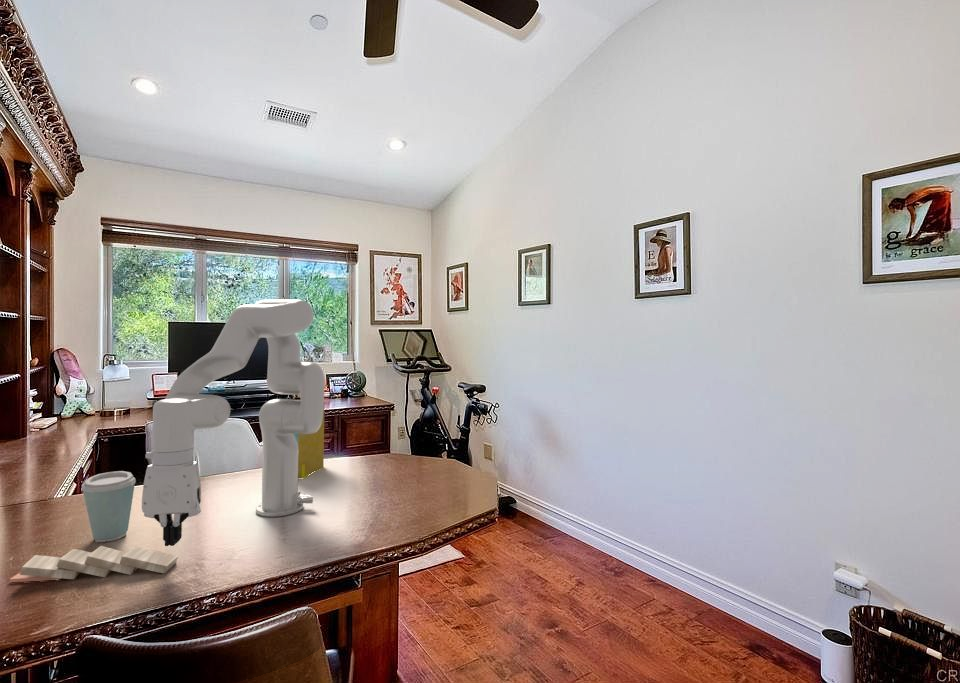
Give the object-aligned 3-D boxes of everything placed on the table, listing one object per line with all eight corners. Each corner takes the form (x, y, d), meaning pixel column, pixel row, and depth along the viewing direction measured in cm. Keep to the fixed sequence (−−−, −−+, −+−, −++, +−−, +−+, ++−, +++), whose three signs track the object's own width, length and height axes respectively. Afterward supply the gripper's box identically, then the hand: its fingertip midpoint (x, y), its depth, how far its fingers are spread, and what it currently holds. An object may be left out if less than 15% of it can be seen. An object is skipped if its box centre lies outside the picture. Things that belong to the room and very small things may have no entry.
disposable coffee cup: (134, 540, 119) (135, 478, 119) (77, 550, 113) (78, 485, 113) (136, 526, 128) (137, 468, 128) (83, 534, 122) (84, 473, 122)
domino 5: (178, 555, 108) (135, 546, 107) (166, 566, 103) (121, 556, 102) (176, 563, 108) (133, 553, 107) (164, 573, 103) (119, 563, 102)
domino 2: (86, 559, 105) (35, 555, 101) (76, 571, 100) (22, 566, 97) (84, 567, 104) (32, 562, 101) (74, 579, 100) (19, 574, 97)
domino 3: (119, 559, 106) (73, 548, 104) (108, 569, 101) (59, 559, 99) (116, 566, 106) (70, 555, 104) (105, 577, 101) (56, 566, 99)
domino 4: (145, 557, 107) (100, 545, 105) (134, 567, 102) (87, 555, 101) (142, 564, 107) (97, 553, 105) (131, 575, 102) (84, 563, 100)
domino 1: (76, 564, 105) (27, 567, 103) (61, 575, 100) (9, 579, 98) (76, 571, 105) (27, 574, 103) (61, 583, 100) (9, 587, 98)
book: (302, 479, 173) (303, 407, 172) (285, 477, 174) (286, 406, 174) (327, 466, 189) (328, 401, 189) (311, 465, 191) (312, 400, 190)
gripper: (124, 462, 100) (123, 552, 101) (203, 460, 103) (202, 549, 103) (144, 453, 108) (143, 537, 108) (217, 452, 110) (216, 534, 110)
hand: (172, 543), depth 105 cm, fingers closed
